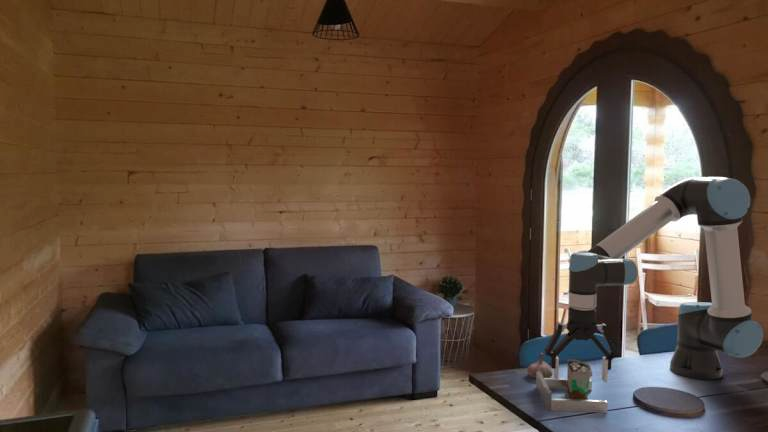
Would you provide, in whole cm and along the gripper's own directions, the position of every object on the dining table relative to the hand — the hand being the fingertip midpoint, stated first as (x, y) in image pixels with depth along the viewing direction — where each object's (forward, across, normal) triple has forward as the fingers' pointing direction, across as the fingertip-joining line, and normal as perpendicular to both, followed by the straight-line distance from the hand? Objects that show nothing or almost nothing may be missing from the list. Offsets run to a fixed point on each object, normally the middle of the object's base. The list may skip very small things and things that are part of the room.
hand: (580, 380), depth 171 cm
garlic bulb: (+6, +8, -18) cm, 21 cm away
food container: (+6, 0, 0) cm, 6 cm away
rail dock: (+6, +2, 0) cm, 6 cm away
